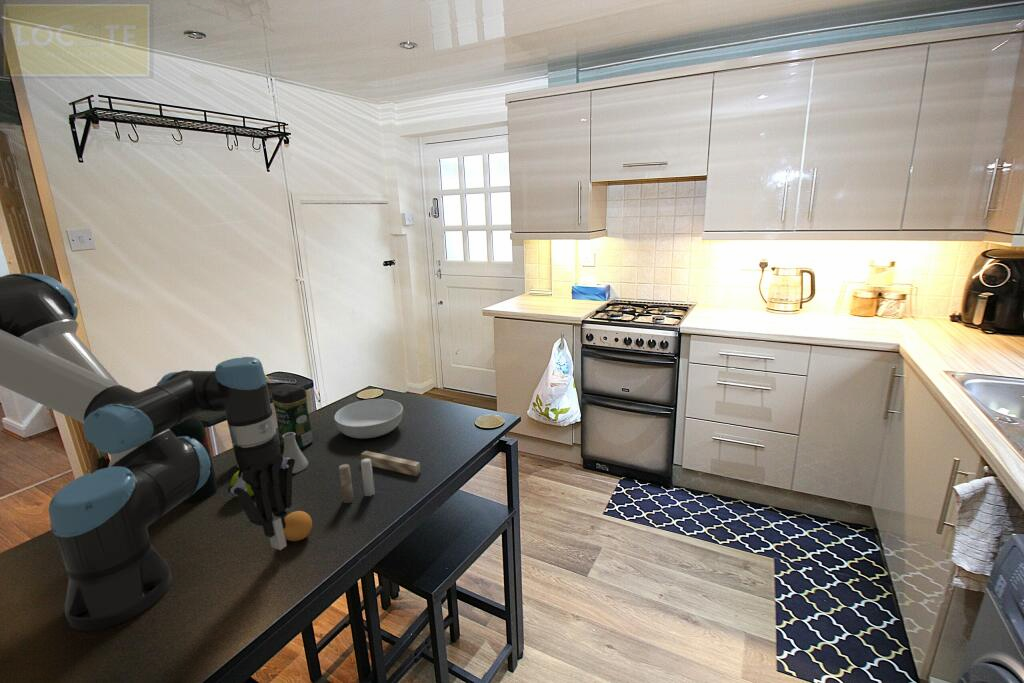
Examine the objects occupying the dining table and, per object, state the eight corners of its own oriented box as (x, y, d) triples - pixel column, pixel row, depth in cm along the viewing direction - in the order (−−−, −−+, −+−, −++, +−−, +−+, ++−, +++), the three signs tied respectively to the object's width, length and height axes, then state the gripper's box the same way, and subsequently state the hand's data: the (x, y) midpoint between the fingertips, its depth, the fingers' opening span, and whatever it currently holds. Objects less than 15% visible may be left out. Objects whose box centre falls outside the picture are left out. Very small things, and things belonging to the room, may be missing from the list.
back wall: (420, 472, 128) (419, 462, 127) (416, 476, 126) (415, 466, 125) (366, 460, 135) (365, 450, 134) (362, 463, 133) (360, 453, 132)
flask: (297, 476, 128) (292, 441, 125) (273, 473, 129) (267, 439, 127) (313, 462, 135) (308, 429, 132) (290, 460, 136) (285, 428, 134)
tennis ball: (254, 484, 124) (249, 459, 123) (270, 491, 121) (266, 466, 119) (227, 498, 119) (222, 472, 117) (243, 506, 115) (238, 480, 113)
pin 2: (366, 497, 117) (362, 464, 115) (363, 493, 119) (359, 460, 116) (376, 494, 118) (372, 461, 116) (372, 490, 120) (368, 457, 118)
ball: (287, 551, 99) (282, 526, 97) (281, 536, 104) (276, 512, 102) (317, 539, 102) (313, 515, 101) (310, 525, 107) (306, 501, 106)
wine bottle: (164, 503, 117) (135, 387, 110) (206, 482, 126) (181, 373, 118) (183, 511, 114) (154, 392, 106) (224, 489, 123) (201, 377, 115)
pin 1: (345, 504, 115) (340, 470, 112) (342, 499, 117) (337, 466, 114) (355, 500, 116) (350, 467, 114) (352, 496, 118) (347, 463, 115)
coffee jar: (275, 445, 145) (265, 387, 141) (298, 434, 152) (289, 379, 147) (295, 452, 140) (285, 393, 135) (318, 441, 147) (309, 384, 142)
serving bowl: (322, 442, 146) (319, 421, 145) (362, 415, 166) (359, 396, 164) (382, 450, 140) (380, 428, 139) (416, 420, 160) (414, 401, 158)
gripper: (234, 458, 83) (261, 573, 90) (297, 427, 95) (318, 531, 101) (209, 451, 87) (236, 562, 93) (272, 422, 98) (293, 523, 104)
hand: (279, 546), depth 97 cm, fingers closed
